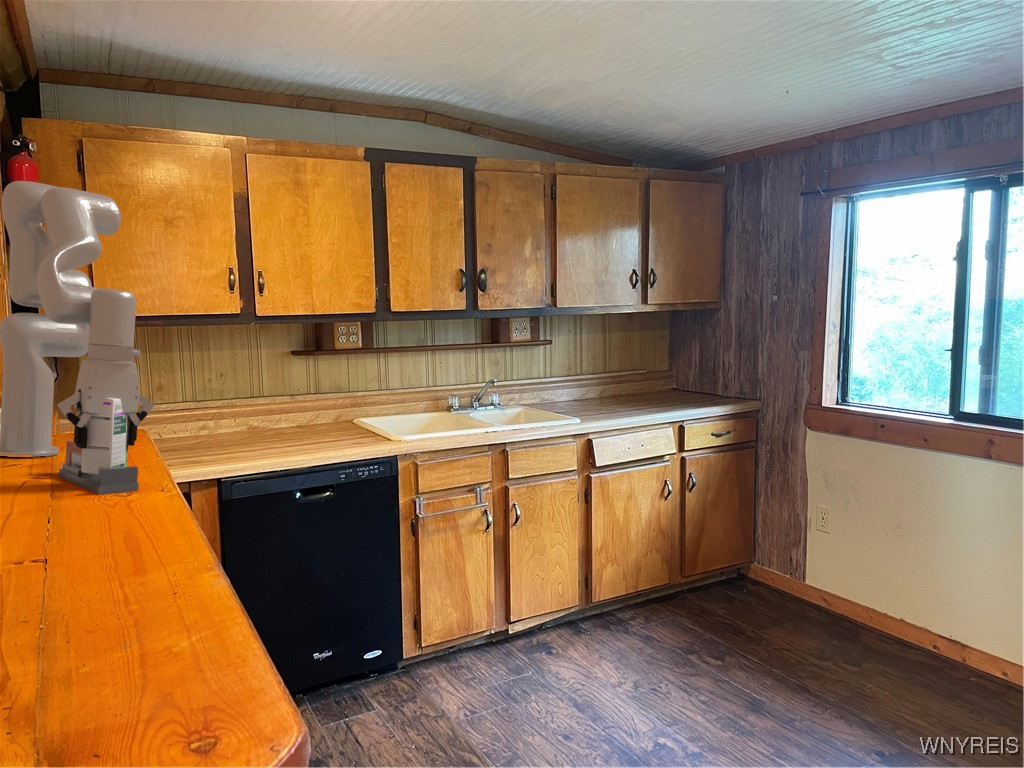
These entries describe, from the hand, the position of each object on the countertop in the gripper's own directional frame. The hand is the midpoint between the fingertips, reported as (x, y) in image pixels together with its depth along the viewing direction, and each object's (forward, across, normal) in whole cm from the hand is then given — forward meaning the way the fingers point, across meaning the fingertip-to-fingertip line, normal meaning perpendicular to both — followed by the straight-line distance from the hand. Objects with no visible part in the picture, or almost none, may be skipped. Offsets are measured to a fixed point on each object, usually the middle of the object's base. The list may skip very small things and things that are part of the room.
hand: (105, 445), depth 134 cm
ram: (+6, 0, -10) cm, 12 cm away
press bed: (+8, 0, -3) cm, 8 cm away
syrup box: (+5, 0, 0) cm, 5 cm away
